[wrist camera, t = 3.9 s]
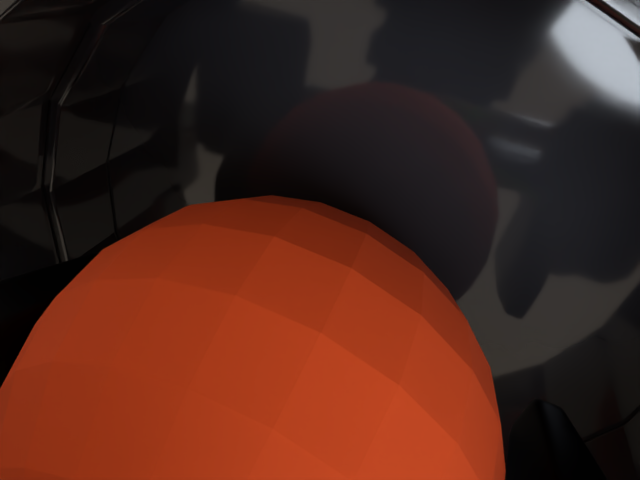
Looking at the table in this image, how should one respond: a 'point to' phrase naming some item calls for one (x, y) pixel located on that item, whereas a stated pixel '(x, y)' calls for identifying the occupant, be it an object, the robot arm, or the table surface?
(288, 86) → the charcoal bowl
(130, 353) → the clementine
